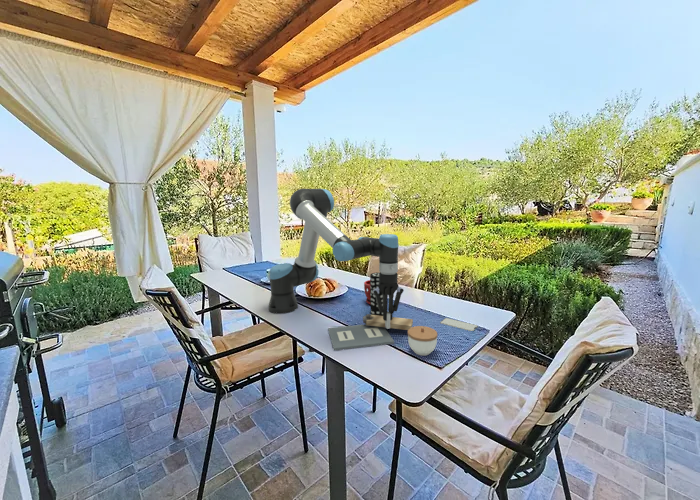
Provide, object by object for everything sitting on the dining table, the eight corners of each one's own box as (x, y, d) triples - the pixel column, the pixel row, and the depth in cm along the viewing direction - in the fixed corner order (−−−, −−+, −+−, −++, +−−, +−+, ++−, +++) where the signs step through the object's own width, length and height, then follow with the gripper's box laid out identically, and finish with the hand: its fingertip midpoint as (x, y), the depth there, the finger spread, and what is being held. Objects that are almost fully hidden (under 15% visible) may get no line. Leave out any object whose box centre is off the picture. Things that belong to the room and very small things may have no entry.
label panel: (328, 329, 130) (328, 325, 129) (380, 324, 134) (380, 320, 134) (334, 350, 112) (333, 345, 111) (394, 343, 116) (394, 338, 116)
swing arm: (360, 324, 129) (360, 317, 128) (365, 318, 135) (365, 311, 135) (410, 330, 122) (410, 323, 121) (412, 323, 128) (412, 316, 128)
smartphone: (445, 317, 140) (478, 325, 130) (445, 318, 140) (478, 326, 130) (439, 322, 134) (473, 331, 125) (439, 324, 134) (473, 332, 125)
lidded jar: (404, 345, 115) (404, 322, 113) (430, 343, 116) (431, 321, 114) (412, 360, 104) (412, 335, 103) (441, 358, 105) (442, 333, 104)
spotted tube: (386, 317, 142) (386, 277, 138) (369, 316, 144) (369, 276, 140) (387, 310, 150) (388, 272, 146) (371, 309, 152) (371, 272, 148)
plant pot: (392, 301, 164) (392, 280, 162) (381, 308, 153) (381, 286, 151) (371, 297, 171) (371, 277, 169) (359, 304, 160) (359, 283, 158)
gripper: (375, 275, 114) (375, 332, 118) (406, 273, 117) (405, 329, 121) (370, 271, 122) (370, 325, 126) (400, 269, 124) (399, 322, 128)
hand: (387, 327), depth 123 cm, fingers closed
